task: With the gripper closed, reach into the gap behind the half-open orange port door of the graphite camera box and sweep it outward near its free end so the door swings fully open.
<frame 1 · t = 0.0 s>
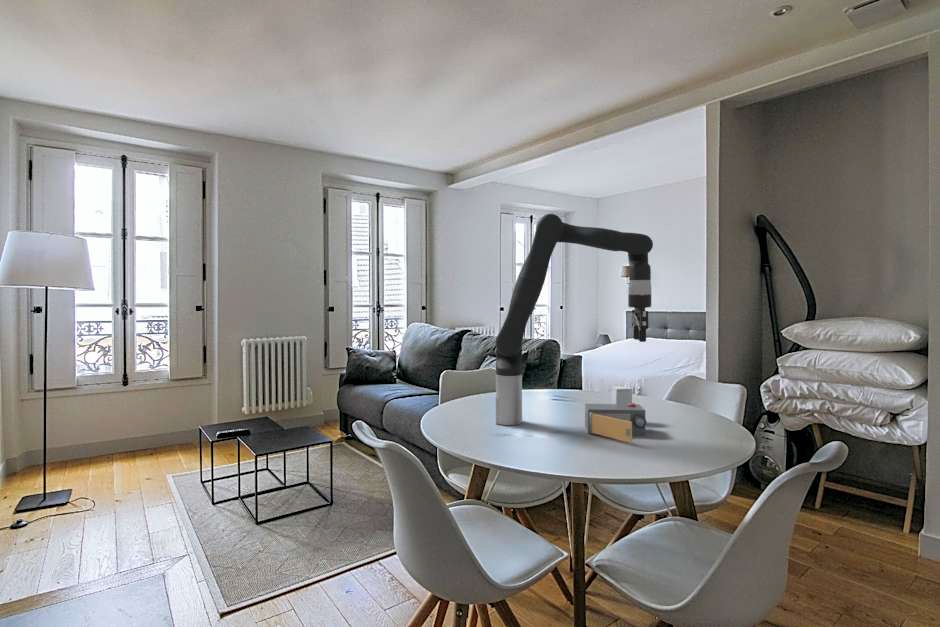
hand: (639, 340, 176), 29 cm above the table, tool pointing down, fingers open, 8 cm apart
camera body: (614, 430, 169), on the table
skincare box: (621, 421, 182), on the table
door: (609, 427, 159), point 4 cm above the table, hinge at 45.0°
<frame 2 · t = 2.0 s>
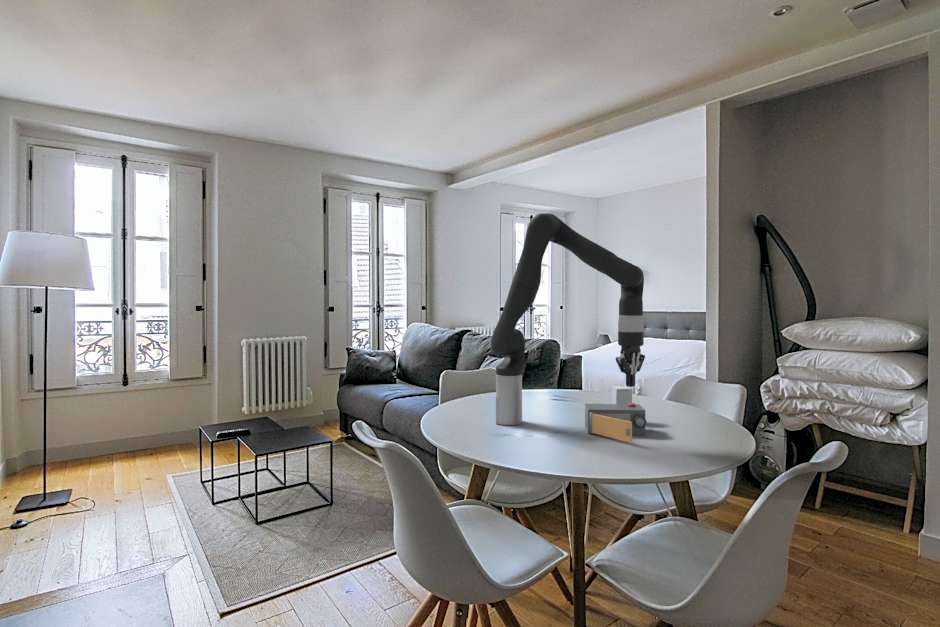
hand: (630, 386, 157), 17 cm above the table, tool pointing down, fingers closed
nothing on the table moved.
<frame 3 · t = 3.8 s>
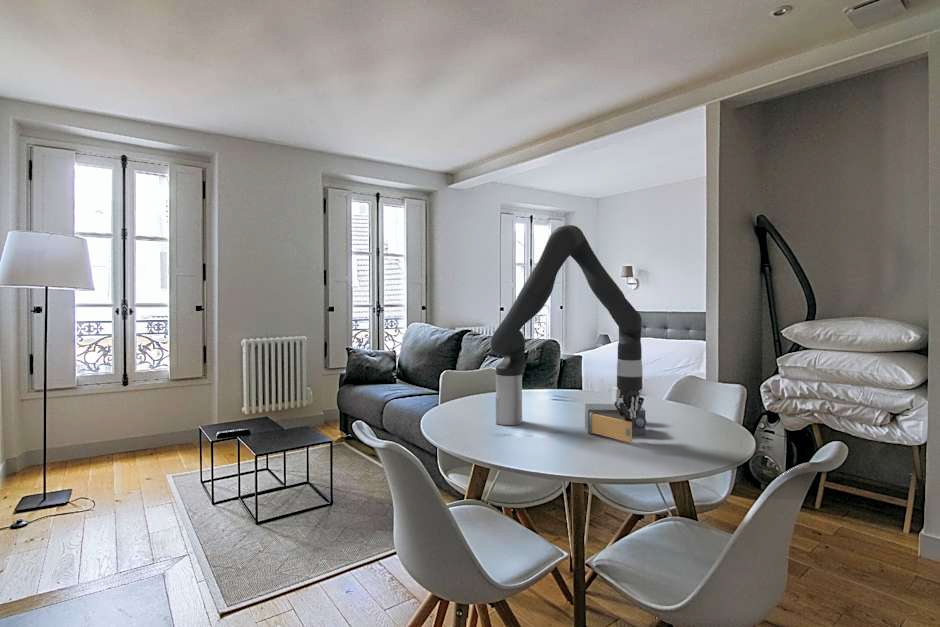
hand: (629, 429, 157), 4 cm above the table, tool pointing down, fingers closed
door: (609, 427, 159), point 4 cm above the table, hinge at 45.2°, touching gripper
everything else where it was.
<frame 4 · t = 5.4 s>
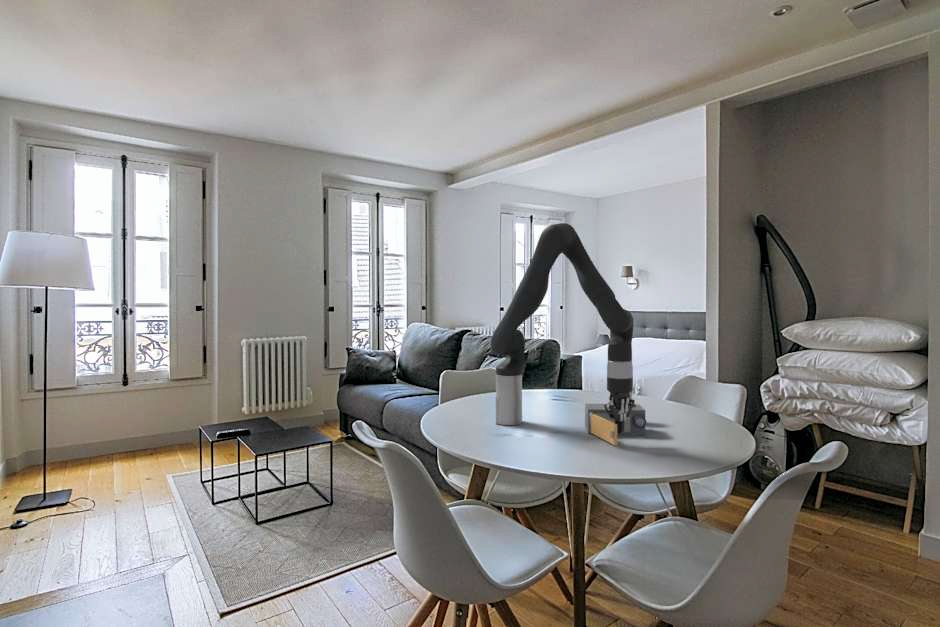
hand: (619, 432, 154), 4 cm above the table, tool pointing down, fingers closed
door: (602, 428, 158), point 4 cm above the table, hinge at 69.1°, touching gripper
everything else where it was.
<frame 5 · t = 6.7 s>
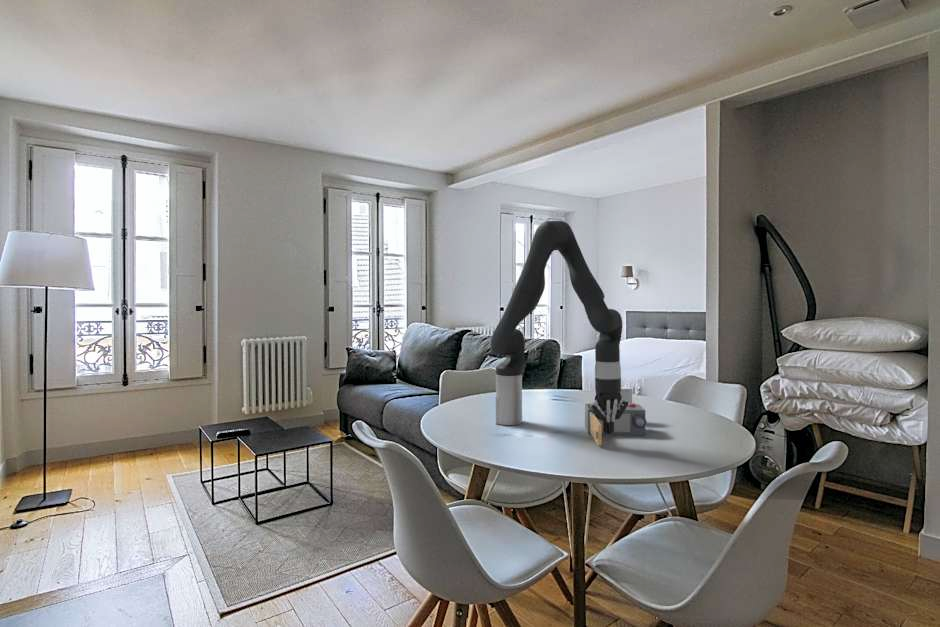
hand: (608, 433, 152), 4 cm above the table, tool pointing down, fingers closed
door: (594, 428, 158), point 4 cm above the table, hinge at 88.2°, touching gripper
everything else where it was.
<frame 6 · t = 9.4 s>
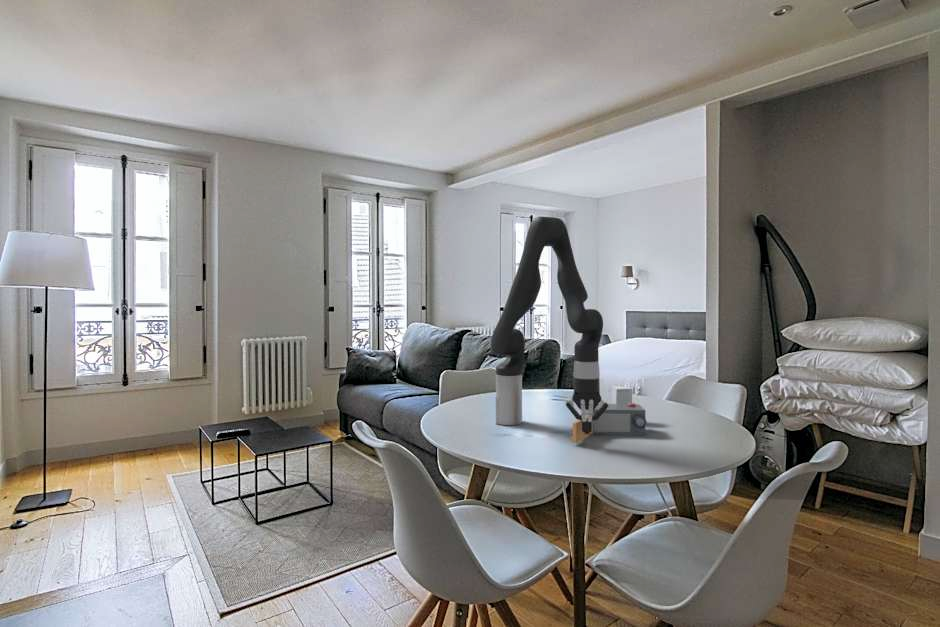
hand: (587, 433, 153), 4 cm above the table, tool pointing down, fingers closed
door: (582, 427, 159), point 4 cm above the table, hinge at 118.2°, touching gripper
everything else where it was.
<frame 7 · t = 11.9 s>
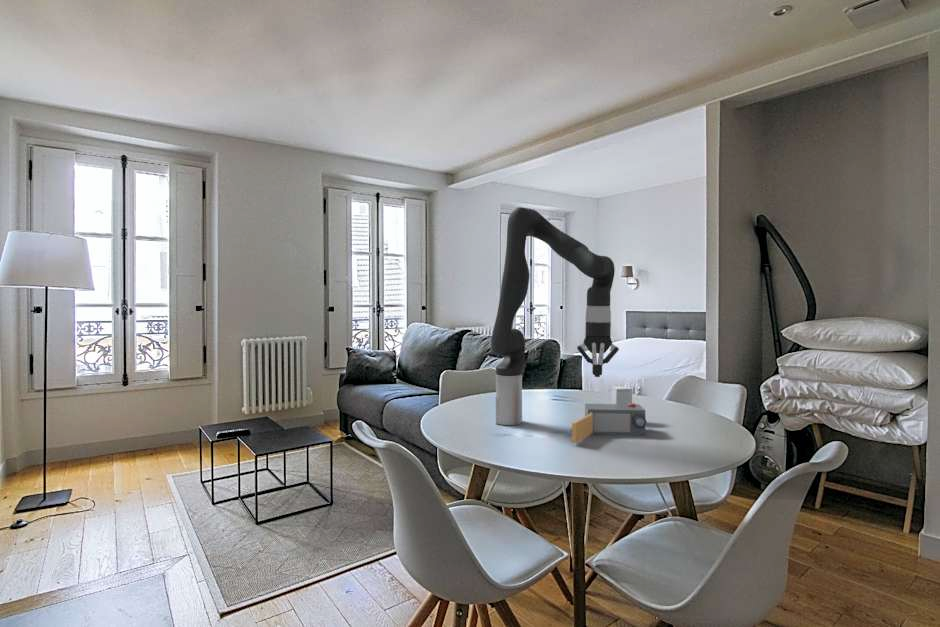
hand: (597, 376, 158), 20 cm above the table, tool pointing down, fingers closed
door: (582, 427, 159), point 4 cm above the table, hinge at 118.6°
everything else where it was.
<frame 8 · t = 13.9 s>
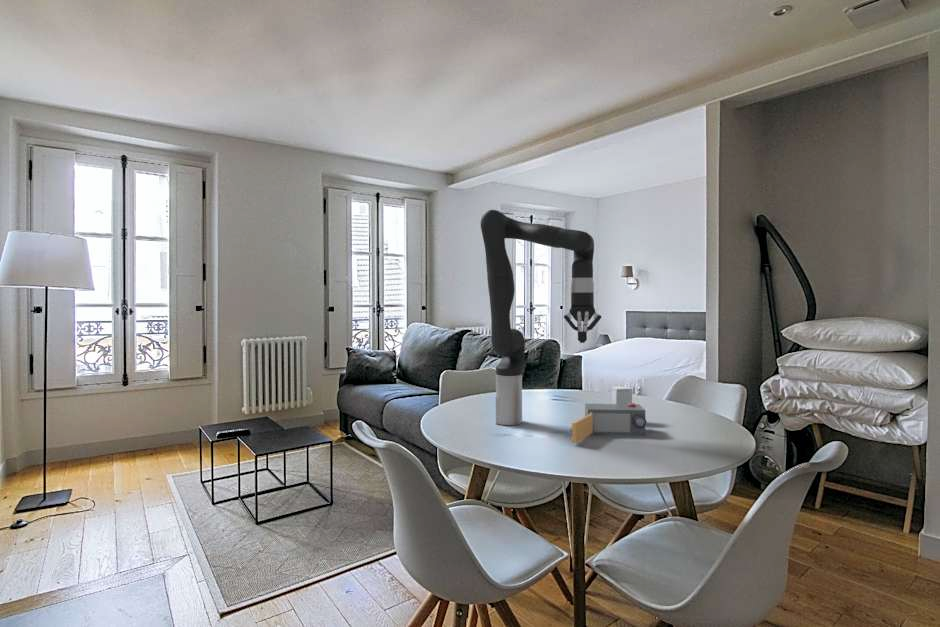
hand: (582, 342, 173), 29 cm above the table, tool pointing down, fingers closed
nothing on the table moved.
at the end: door at +119° (first picture: +45°); door touching nothing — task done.
